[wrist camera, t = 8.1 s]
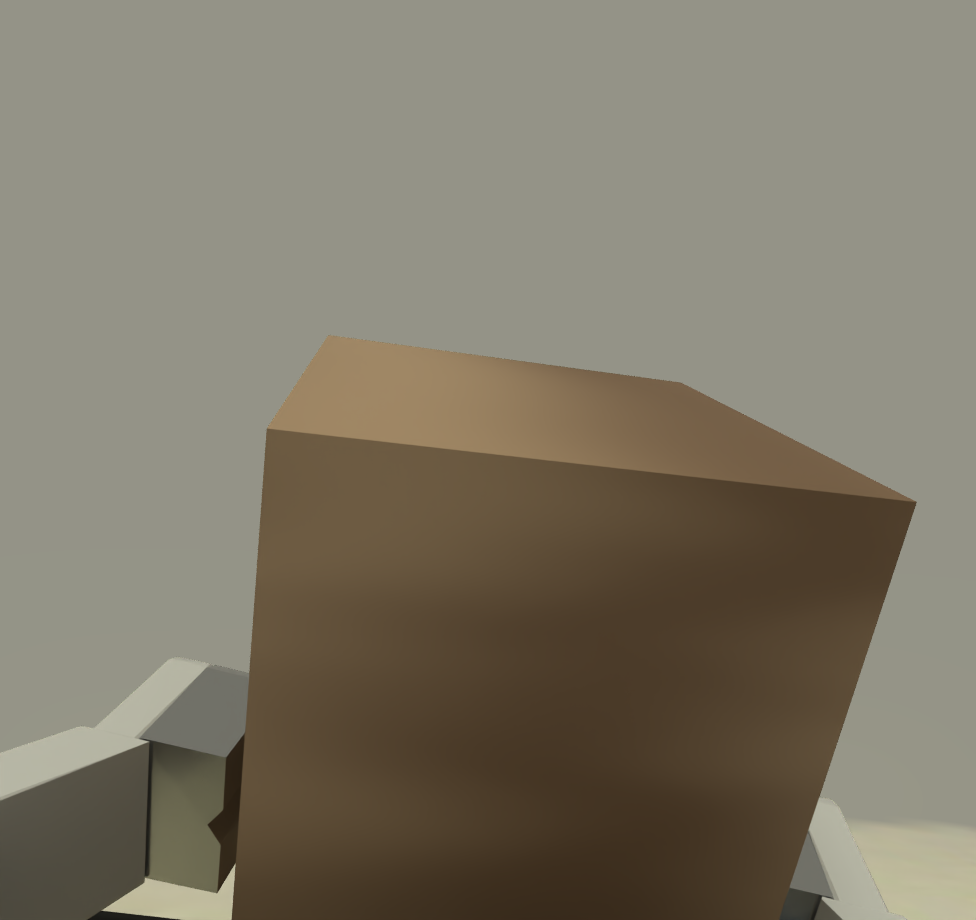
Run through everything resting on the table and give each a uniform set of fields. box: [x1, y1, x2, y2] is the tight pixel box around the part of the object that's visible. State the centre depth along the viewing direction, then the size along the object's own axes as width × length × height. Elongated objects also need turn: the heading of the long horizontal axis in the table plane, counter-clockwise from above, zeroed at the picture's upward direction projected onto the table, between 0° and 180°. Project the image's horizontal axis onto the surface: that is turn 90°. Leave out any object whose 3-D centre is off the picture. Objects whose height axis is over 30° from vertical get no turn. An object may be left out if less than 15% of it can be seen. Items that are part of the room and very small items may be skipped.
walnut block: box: [232, 335, 916, 920], centre depth 8 cm, size 4×4×11 cm
